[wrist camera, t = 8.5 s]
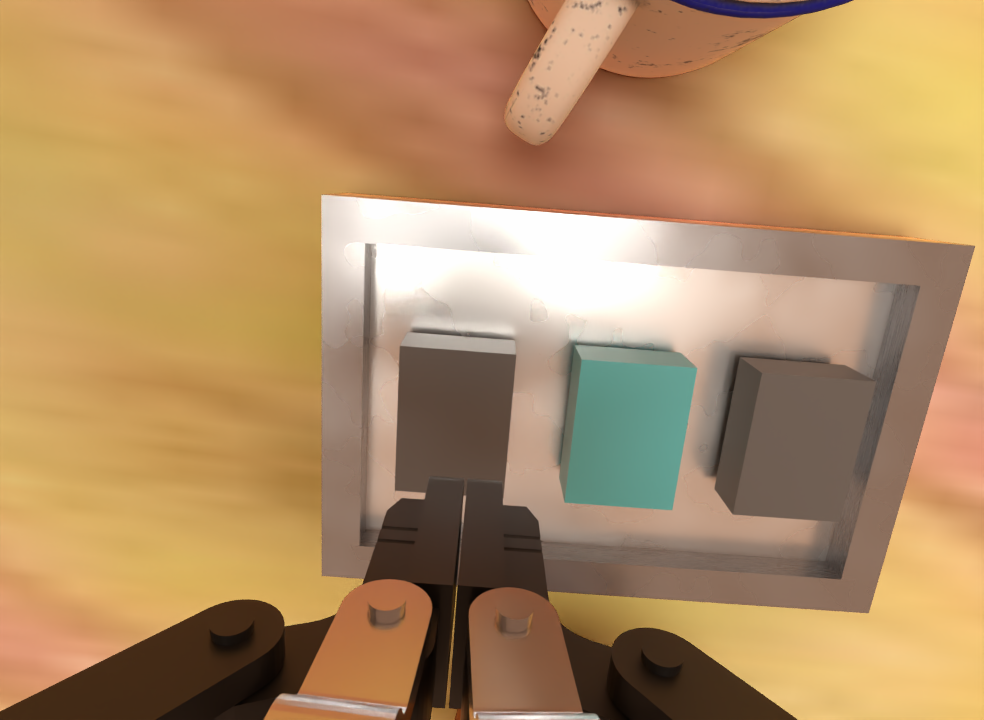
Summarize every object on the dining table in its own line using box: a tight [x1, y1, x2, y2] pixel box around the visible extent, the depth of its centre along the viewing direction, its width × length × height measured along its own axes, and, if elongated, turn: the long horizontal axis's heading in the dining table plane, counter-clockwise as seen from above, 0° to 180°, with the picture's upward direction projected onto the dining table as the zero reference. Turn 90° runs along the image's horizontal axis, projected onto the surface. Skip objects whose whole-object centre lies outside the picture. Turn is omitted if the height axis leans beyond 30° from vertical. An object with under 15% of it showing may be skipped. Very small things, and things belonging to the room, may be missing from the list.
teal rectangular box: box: [559, 345, 697, 510], centre depth 18 cm, size 4×3×2 cm
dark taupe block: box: [714, 357, 877, 522], centre depth 18 cm, size 4×3×2 cm
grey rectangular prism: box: [395, 332, 516, 498], centre depth 18 cm, size 4×3×2 cm
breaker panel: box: [322, 193, 975, 613], centre depth 20 cm, size 12×18×3 cm, turn 86°
